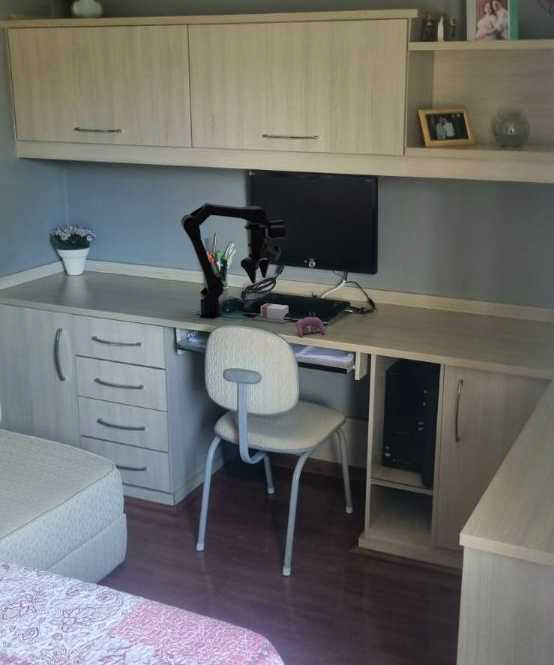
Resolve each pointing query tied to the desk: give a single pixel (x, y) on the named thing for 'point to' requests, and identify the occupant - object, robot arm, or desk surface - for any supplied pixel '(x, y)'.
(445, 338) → the desk surface
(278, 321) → the desk mat
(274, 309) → the card deck box
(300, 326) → the video game controller
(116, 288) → the desk surface
